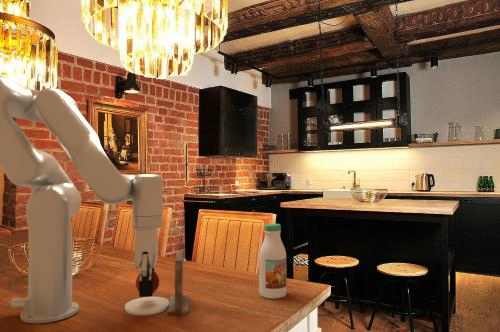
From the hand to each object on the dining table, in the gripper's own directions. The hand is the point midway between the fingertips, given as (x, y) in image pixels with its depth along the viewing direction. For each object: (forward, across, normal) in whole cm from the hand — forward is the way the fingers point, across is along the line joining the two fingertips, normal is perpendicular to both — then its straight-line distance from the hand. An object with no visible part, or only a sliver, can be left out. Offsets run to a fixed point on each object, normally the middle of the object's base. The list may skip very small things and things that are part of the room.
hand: (147, 291), depth 96 cm
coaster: (+4, 0, 0) cm, 4 cm away
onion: (+2, 0, 0) cm, 2 cm away
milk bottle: (+4, -5, +34) cm, 35 cm away
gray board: (+4, 0, +8) cm, 9 cm away
